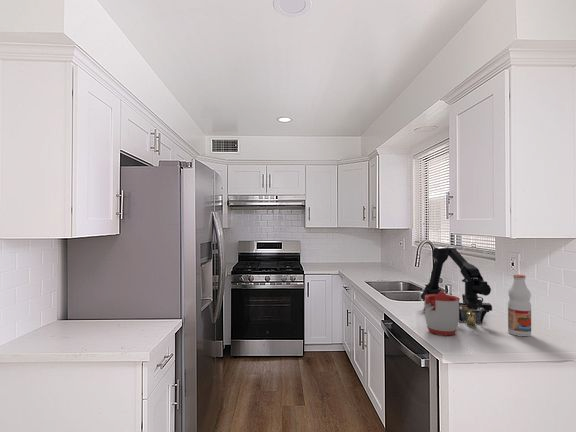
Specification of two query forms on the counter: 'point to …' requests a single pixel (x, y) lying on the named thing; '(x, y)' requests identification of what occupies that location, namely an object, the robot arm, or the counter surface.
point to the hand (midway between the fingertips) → (470, 322)
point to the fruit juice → (519, 308)
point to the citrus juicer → (442, 313)
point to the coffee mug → (464, 297)
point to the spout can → (471, 319)
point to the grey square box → (465, 310)
